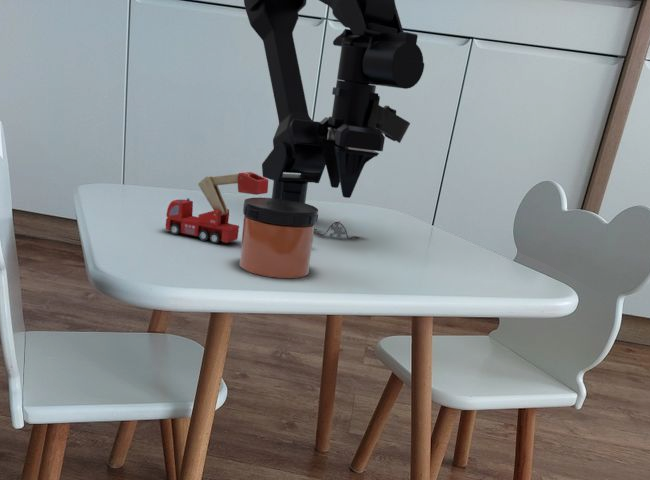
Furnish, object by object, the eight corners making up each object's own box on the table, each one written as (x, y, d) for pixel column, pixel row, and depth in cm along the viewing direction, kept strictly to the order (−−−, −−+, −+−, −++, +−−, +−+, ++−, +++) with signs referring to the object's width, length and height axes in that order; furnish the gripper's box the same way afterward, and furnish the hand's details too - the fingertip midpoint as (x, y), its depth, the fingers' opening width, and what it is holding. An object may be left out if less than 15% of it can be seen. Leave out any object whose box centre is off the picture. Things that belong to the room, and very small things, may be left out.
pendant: (308, 235, 104) (310, 218, 103) (309, 230, 108) (311, 213, 107) (360, 242, 104) (363, 225, 103) (359, 236, 108) (361, 220, 107)
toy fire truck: (174, 228, 96) (179, 158, 93) (262, 248, 92) (270, 175, 89) (161, 231, 93) (165, 159, 90) (251, 252, 89) (259, 176, 86)
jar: (237, 256, 86) (242, 199, 83) (302, 262, 87) (310, 206, 85) (241, 274, 78) (248, 212, 76) (313, 281, 80) (322, 219, 77)
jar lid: (240, 207, 84) (242, 194, 83) (310, 214, 85) (311, 202, 85) (245, 221, 76) (247, 207, 75) (322, 228, 77) (324, 215, 77)
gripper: (430, 92, 91) (408, 209, 97) (392, 89, 108) (376, 188, 114) (349, 80, 89) (331, 200, 95) (324, 79, 106) (310, 180, 112)
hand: (340, 192), depth 104 cm, fingers open, 9 cm apart
